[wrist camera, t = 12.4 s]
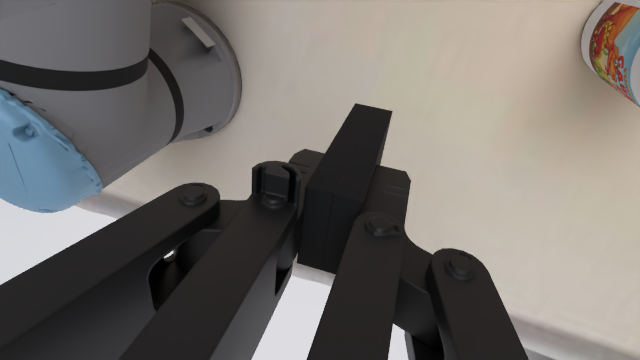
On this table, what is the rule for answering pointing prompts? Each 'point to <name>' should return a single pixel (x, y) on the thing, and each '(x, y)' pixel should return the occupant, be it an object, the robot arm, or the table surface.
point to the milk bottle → (615, 45)
